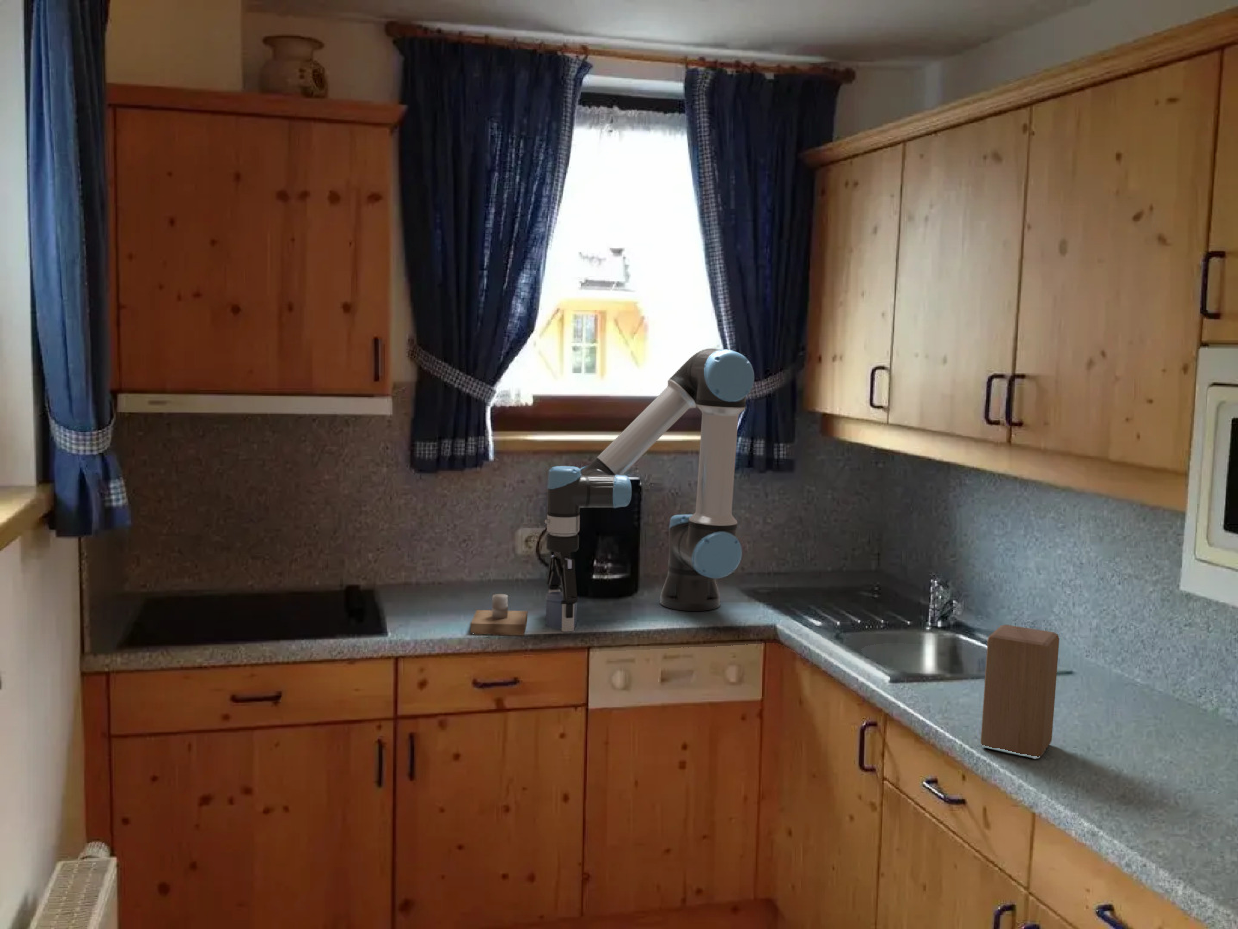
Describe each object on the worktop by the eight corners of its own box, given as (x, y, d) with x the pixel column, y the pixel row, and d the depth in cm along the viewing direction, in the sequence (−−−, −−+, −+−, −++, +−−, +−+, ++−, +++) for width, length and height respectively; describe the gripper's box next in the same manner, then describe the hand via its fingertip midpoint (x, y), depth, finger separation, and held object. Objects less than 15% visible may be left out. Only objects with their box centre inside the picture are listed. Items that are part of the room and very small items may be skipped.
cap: (576, 620, 271) (577, 591, 270) (576, 628, 264) (576, 599, 263) (546, 620, 271) (546, 591, 270) (545, 628, 264) (545, 598, 263)
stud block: (527, 621, 269) (527, 590, 268) (524, 635, 257) (524, 602, 256) (476, 620, 269) (476, 589, 268) (470, 634, 257) (471, 601, 256)
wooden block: (978, 749, 194) (986, 635, 192) (993, 732, 203) (1000, 622, 200) (1040, 762, 189) (1048, 645, 187) (1052, 744, 197) (1060, 631, 195)
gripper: (535, 524, 275) (533, 611, 278) (560, 543, 252) (557, 638, 255) (565, 523, 277) (563, 610, 280) (592, 542, 254) (590, 636, 257)
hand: (560, 623), depth 267 cm, fingers open, 12 cm apart
